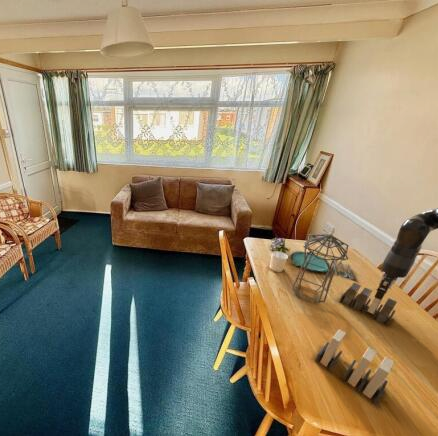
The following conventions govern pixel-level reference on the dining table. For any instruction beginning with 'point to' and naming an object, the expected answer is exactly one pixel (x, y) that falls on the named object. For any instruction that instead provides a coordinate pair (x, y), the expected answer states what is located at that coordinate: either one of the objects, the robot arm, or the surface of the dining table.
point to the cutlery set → (316, 263)
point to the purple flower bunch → (279, 243)
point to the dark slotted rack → (358, 367)
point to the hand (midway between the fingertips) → (380, 294)
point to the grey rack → (362, 298)
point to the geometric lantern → (333, 240)
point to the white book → (375, 304)
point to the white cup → (278, 261)
